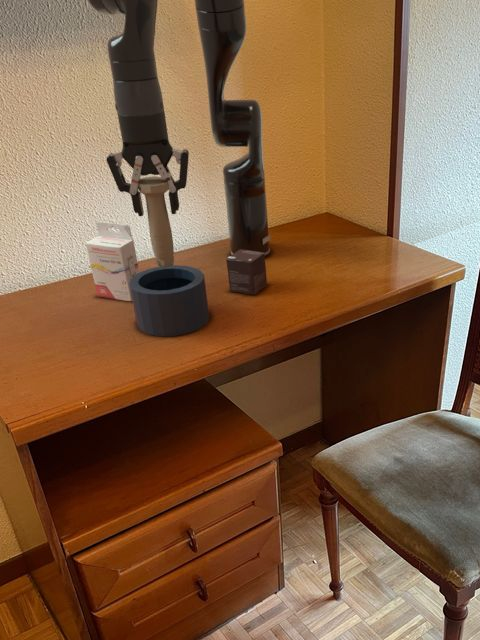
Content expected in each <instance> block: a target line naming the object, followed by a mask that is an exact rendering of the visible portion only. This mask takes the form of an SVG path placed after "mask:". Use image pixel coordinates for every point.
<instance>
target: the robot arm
mask: <svg viewBox="0 0 480 640" xmlns="http://www.w3.org/2000/svg"><path fill="white" fill-rule="evenodd" d="M87 1H88V3H89V5H90V6H91V7H92V8H93V9H94V10H95V11H96V12H97V13H99V14H102V15H104V16H107V17H108V16H109V17H124V25H123V26H124V27H123V31H122V33H118V34H116V35H113V36H111V37H109V39H108V40H107V45H106V47H107V55H108V60H109V66H110V73H111V77H112V85H113V97H114V107H115V111H116V114H117V120H118V125H119V130H120V137H121V141H122V149H121V151H119V152H116V153H113V152H110V153H109V154H108V155H107V156H106V163H107V166H108V168H109V170H110V172H111V175H112V177H113V180H114V182H115V184H116V187H117V189H118V191H119V192H121V193H128V194H129V195H130V197H131V203H132V208H133V211H134V213H135V214H137V215H138V217H144V211H145V210H144V205H143V201H142V200H143V199H142V195H141V194H142V193H141V192H140V191H139V189H138V184H139V181H140V178H142V177H143V176H145V177H147V176H148V175H152V176H159V177H161V178H162V179H163V181H164V182H168V187H169V190H168V199H169V206H170V212H171V215H176V214H177V211H178V212H179V209H180V200H179V193H178V192H179V190H182V189H185V188H186V187H187V183H188V172H189V171H188V169H189V158H190V157H189V156H190V152H189V150H188V149H186V148H183V149H182V150H181V149H174V148H173V146H172V145H171V143H170V141H169V133H168V126H167V121H166V113H165V105H164V99H163V93H162V88H161V85H160V80H159V76H158V69H157V61H156V55H155V35H156V23H157V13H158V0H87ZM194 6H195V14H196V20H197V26H198V32H199V38H200V45H201V51H202V57H203V63H204V69H205V76H206V77H205V78H206V87H207V99H208V111H209V120H210V129H211V134H212V138H213V142H214V143H215V144H216V146H218V147H221V148H247V152H246V153H245V154H244V155H242V156H241V157H239V158H237V159H235V160H233V161H229V162H228V163H226V164H225V165H224V166H223V168H222V177H223V179H222V180H223V187H224V198H225V207H226V208H225V209H226V217H227V227H228V237H229V246H230V247H229V248H230V256H231V255H233V254H234V253H236V252H237V251H238V250H240V249H243V250H249V251H256V252H264V253H265V257H267V256H268V255H270V253H271V248H270V241H271V240H272V238H271V237H272V235H271V234H269V221H268V208H267V207H268V205H267V191H266V176H265V165H264V164H265V163H264V149H263V147H264V146H263V114H262V108H261V105H260V103H259V101H257V100H256V99H225V96H224V93H225V87H226V83H227V80H228V77H229V74H230V72H231V69H232V67H233V65H234V63H235V62H236V61H235V60H236V58H237V57H238V55H239V52H240V50H241V48H242V47H243V44H244V42H245V38H246V35H247V18H246V8H245V7H246V6H245V0H194ZM172 157H174V158H175V161H176V164H178V165H180V166H179V177H178V180H175V179H174V177H173V175H172V172H171V171H170V169H169V167H168V165H169V163H170V161H171V159H172ZM123 160H124V161H125V162H126V163H127V164H128V165H129V166H130V167H131V169H132V175H131V182H130V183H129V182H127V181H126V177H125V176H124V173H123V170H122V167H121V166H122V165H123Z"/></svg>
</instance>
